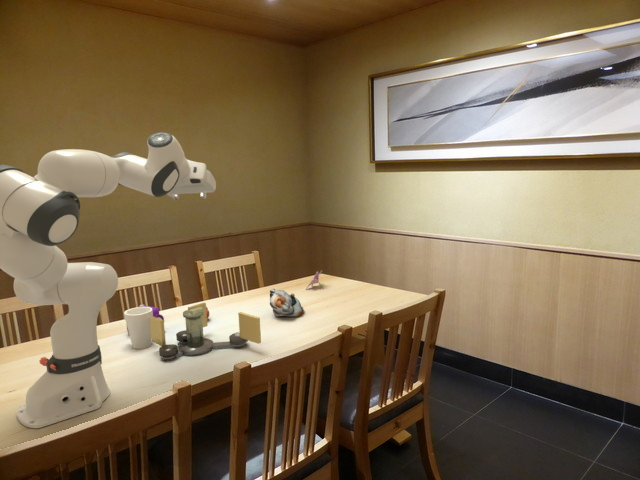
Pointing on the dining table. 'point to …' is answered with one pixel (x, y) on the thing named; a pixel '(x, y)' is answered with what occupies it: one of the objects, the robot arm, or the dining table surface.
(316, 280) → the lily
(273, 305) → the grey lumpy piece
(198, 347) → the tribrach
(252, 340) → the tan placard on stand
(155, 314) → the toy camera
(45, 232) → the robot arm
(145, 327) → the foam cup
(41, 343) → the dining table surface
